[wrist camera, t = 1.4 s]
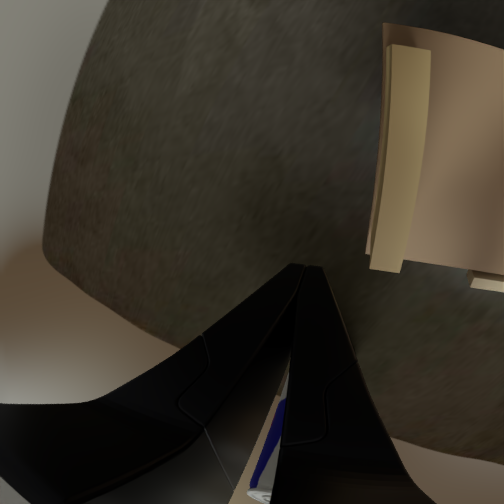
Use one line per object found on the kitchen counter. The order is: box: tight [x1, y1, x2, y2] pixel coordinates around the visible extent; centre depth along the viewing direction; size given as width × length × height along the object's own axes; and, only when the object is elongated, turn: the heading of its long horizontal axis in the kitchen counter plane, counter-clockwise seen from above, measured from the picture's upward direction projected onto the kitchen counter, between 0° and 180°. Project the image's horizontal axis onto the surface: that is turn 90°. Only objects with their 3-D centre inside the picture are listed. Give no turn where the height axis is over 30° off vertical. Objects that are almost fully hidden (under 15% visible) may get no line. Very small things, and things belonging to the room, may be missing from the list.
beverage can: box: [247, 373, 289, 504], centre depth 23 cm, size 6×6×15 cm
